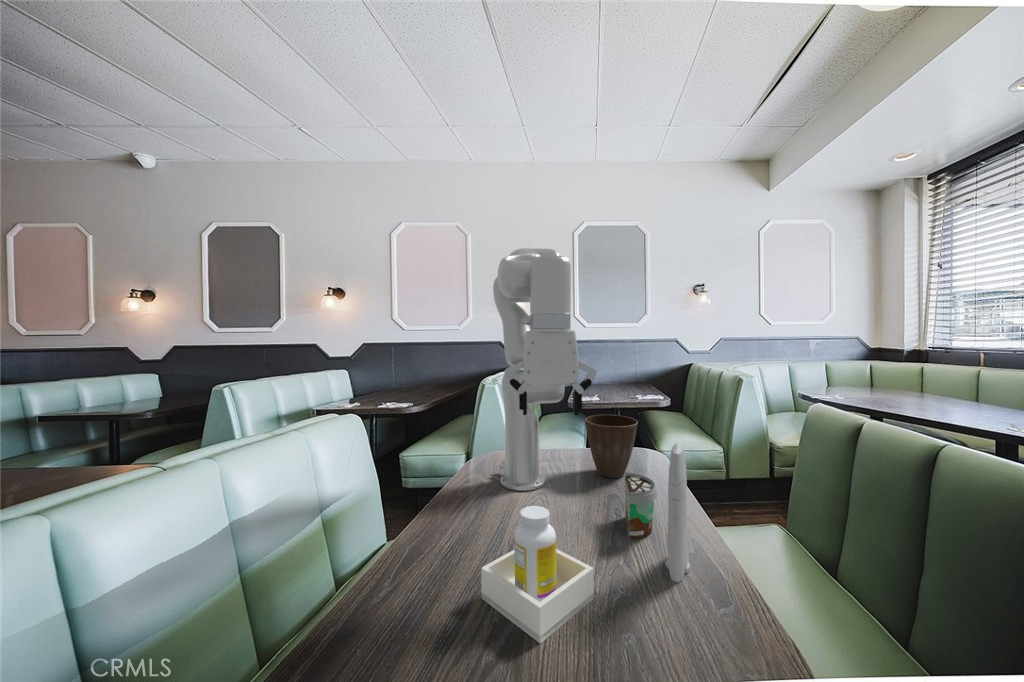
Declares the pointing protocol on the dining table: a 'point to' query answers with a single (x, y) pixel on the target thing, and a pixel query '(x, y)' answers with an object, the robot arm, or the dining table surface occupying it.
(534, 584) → the supplement bottle
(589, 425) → the plant pot
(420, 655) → the dining table surface
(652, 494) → the food container
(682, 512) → the tall pale column
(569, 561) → the box
